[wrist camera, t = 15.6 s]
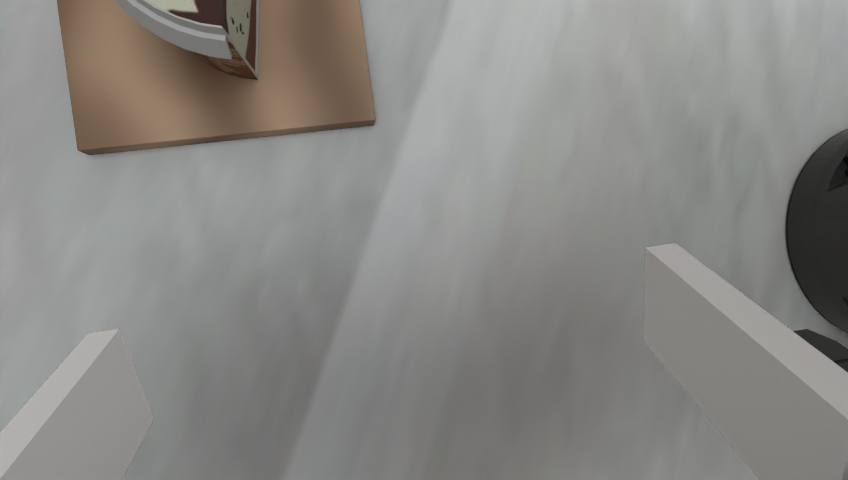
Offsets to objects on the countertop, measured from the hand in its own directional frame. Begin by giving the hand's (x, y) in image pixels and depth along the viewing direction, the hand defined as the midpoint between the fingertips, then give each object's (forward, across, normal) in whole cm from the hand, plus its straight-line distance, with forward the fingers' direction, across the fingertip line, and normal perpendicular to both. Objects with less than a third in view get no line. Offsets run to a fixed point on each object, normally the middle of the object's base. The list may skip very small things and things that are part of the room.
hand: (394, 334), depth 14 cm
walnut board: (+24, -8, +9) cm, 27 cm away
